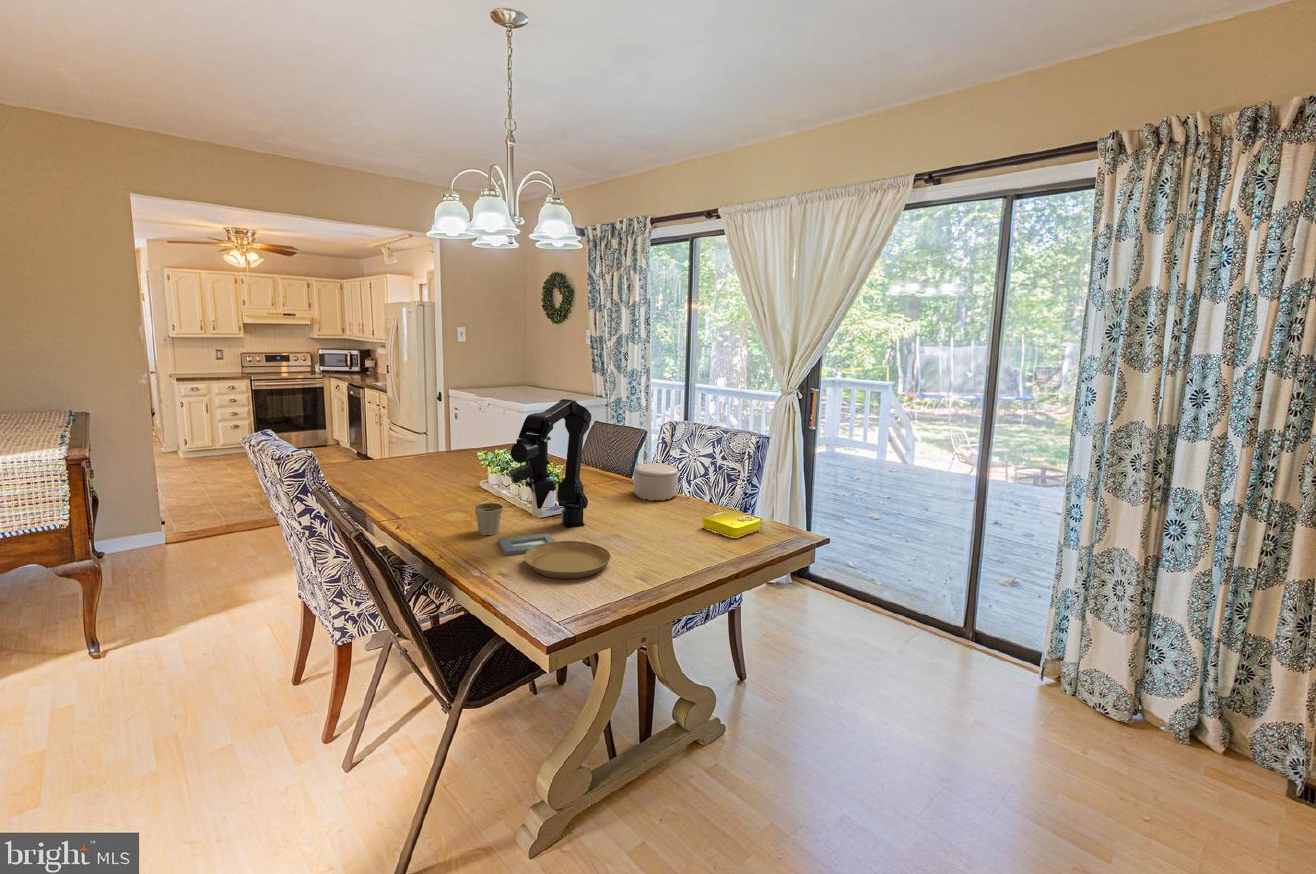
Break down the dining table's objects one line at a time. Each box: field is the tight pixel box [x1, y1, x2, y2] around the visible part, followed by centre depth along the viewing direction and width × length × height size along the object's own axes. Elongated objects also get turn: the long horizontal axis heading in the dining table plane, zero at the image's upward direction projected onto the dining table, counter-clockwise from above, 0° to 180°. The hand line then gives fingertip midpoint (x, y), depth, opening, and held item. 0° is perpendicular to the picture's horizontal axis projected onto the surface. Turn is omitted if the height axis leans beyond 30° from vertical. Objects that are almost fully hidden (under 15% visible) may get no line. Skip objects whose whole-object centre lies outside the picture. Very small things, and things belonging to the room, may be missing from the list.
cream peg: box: [531, 491, 544, 518], centre depth 188 cm, size 3×3×9 cm
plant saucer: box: [523, 540, 612, 580], centre depth 175 cm, size 24×24×3 cm
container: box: [632, 462, 679, 501], centre depth 250 cm, size 18×18×12 cm
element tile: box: [702, 509, 761, 537], centre depth 211 cm, size 15×15×5 cm
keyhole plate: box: [497, 532, 556, 557], centre depth 189 cm, size 16×12×1 cm
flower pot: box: [472, 502, 505, 536], centre depth 199 cm, size 9×9×9 cm
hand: (537, 507), depth 188 cm, fingers closed on cream peg, 3 cm apart
